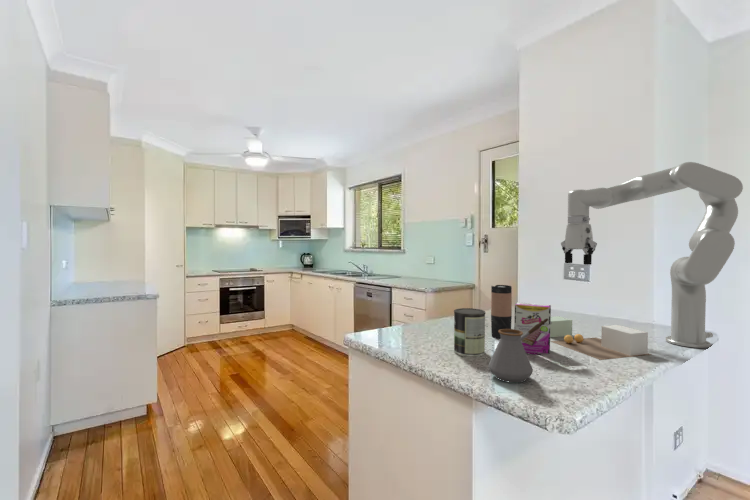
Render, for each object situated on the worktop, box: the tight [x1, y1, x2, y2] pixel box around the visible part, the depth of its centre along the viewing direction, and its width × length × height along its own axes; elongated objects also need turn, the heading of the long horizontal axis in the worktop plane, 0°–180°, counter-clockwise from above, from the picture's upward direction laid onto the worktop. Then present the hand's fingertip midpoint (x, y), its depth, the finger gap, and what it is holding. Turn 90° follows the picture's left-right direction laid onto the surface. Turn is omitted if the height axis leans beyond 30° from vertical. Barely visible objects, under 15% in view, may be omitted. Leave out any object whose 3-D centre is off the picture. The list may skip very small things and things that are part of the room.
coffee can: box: [453, 307, 486, 358], centre depth 126 cm, size 10×10×14 cm
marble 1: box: [563, 335, 574, 343], centre depth 133 cm, size 3×3×3 cm
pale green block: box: [550, 315, 573, 338], centre depth 146 cm, size 11×7×7 cm, turn 104°
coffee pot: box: [488, 318, 552, 383], centre depth 105 cm, size 21×12×15 cm, turn 117°
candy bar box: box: [513, 301, 552, 356], centre depth 125 cm, size 11×5×16 cm, turn 65°
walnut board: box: [550, 337, 653, 361], centre depth 128 cm, size 20×22×1 cm
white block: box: [600, 324, 649, 356], centre depth 125 cm, size 11×7×7 cm, turn 15°
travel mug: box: [490, 284, 513, 340], centre depth 146 cm, size 8×8×20 cm
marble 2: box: [573, 333, 585, 343], centre depth 134 cm, size 3×3×3 cm
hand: (577, 263), depth 150 cm, fingers open, 9 cm apart
